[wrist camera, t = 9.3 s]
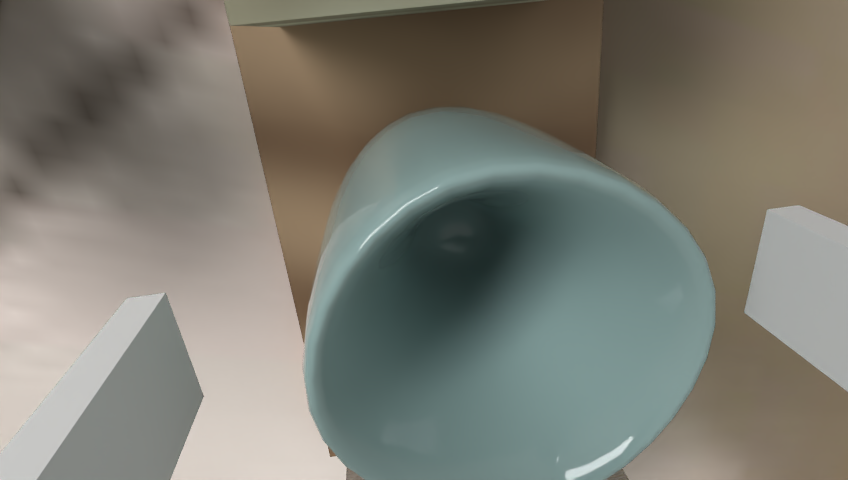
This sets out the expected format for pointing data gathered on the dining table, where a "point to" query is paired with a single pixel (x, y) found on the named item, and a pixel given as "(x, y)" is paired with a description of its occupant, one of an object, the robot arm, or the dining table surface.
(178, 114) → the dining table surface
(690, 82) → the dining table surface
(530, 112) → the caddy
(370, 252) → the cup
